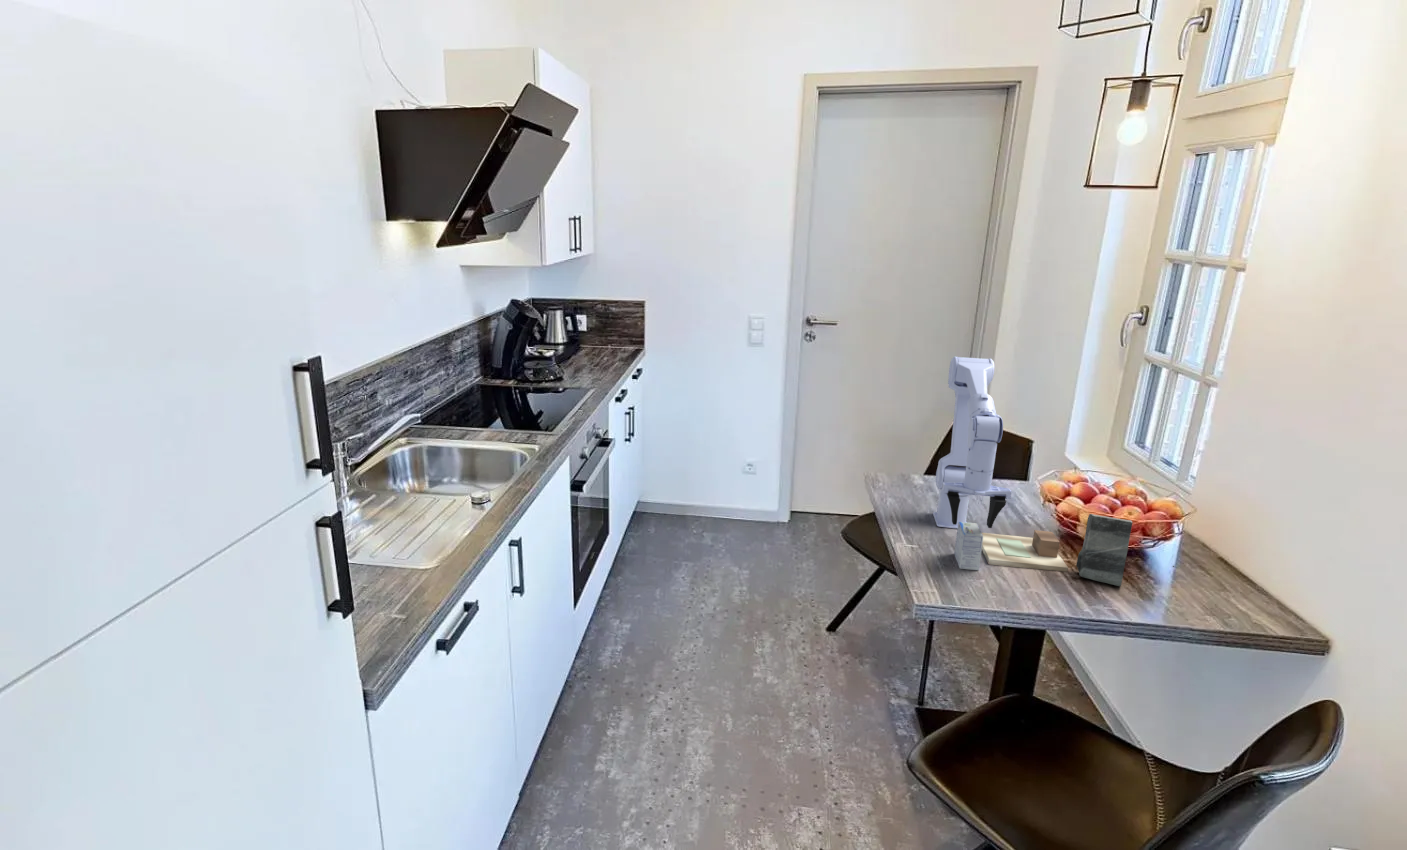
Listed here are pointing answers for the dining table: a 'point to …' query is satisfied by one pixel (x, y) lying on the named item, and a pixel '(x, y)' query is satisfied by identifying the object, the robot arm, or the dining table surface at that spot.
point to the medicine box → (968, 546)
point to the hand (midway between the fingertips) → (971, 524)
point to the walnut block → (1045, 543)
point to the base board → (1017, 553)
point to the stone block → (1104, 549)
